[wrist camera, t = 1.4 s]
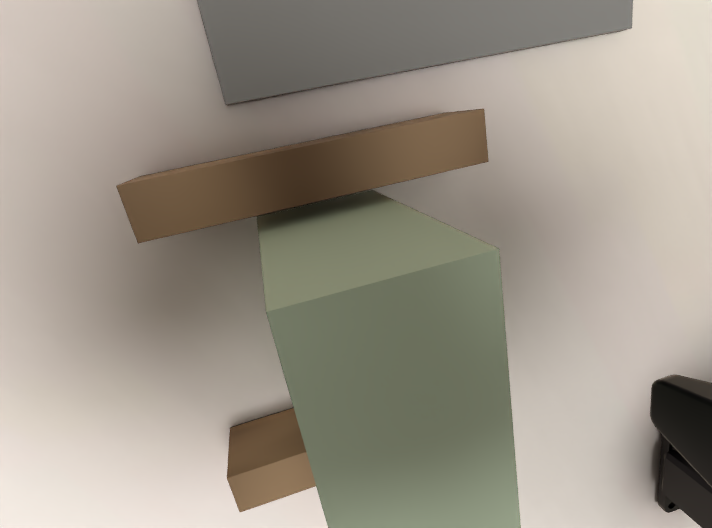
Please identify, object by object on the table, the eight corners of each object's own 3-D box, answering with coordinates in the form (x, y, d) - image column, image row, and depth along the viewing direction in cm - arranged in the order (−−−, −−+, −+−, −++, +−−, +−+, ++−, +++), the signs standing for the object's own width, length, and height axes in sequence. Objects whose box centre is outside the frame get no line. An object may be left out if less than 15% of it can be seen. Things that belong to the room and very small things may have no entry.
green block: (371, 189, 15) (499, 248, 7) (401, 361, 17) (521, 540, 10) (256, 216, 14) (265, 312, 7) (304, 391, 16) (351, 608, 9)
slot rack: (445, 112, 14) (483, 108, 12) (475, 382, 18) (509, 418, 16) (140, 176, 13) (116, 185, 10) (241, 458, 16) (239, 512, 14)
